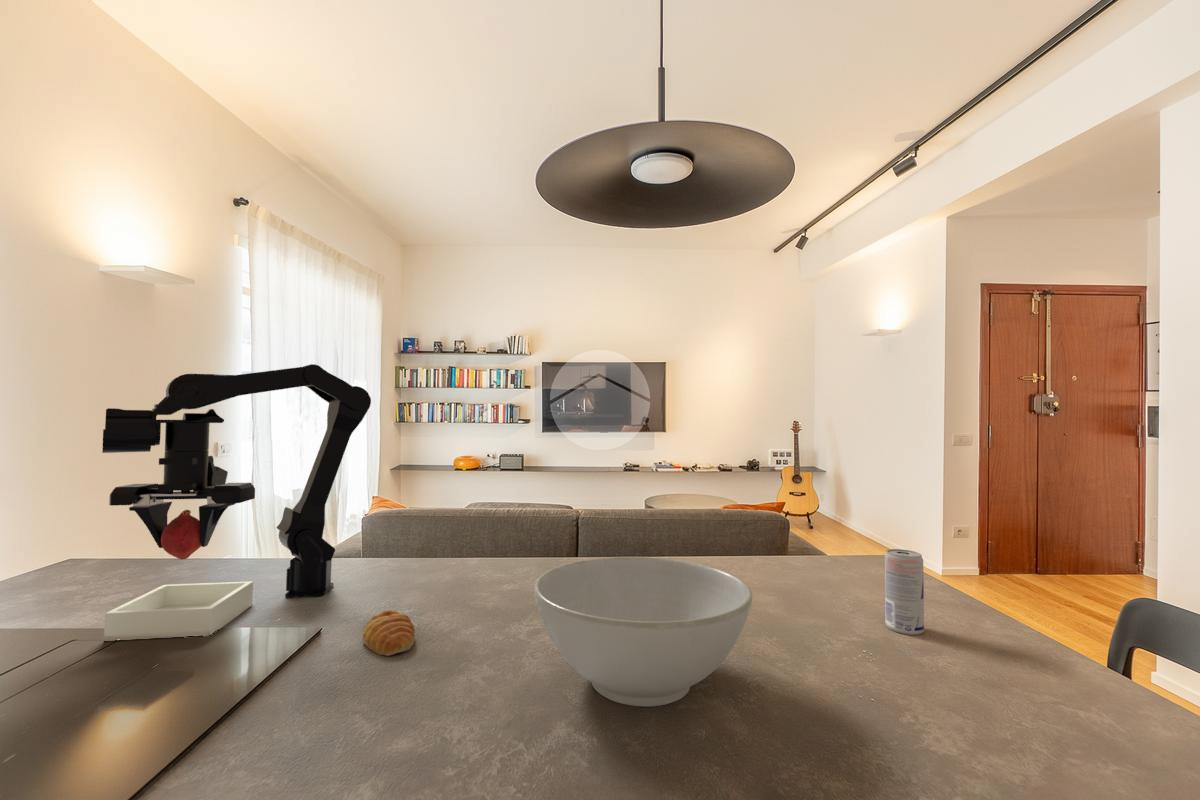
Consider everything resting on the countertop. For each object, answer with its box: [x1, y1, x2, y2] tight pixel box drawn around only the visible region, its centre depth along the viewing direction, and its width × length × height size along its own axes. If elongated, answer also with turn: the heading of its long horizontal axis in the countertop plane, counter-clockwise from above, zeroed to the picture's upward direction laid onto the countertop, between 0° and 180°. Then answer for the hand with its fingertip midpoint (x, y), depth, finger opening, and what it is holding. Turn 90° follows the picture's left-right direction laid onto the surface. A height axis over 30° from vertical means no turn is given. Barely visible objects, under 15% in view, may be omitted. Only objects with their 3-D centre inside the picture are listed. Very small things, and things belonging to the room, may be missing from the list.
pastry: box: [362, 609, 416, 657], centre depth 77 cm, size 9×7×4 cm
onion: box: [161, 509, 202, 560], centre depth 87 cm, size 6×6×8 cm
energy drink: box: [884, 548, 925, 636], centre depth 85 cm, size 5×5×12 cm
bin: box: [103, 580, 254, 640], centre depth 84 cm, size 14×14×4 cm
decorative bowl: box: [533, 556, 753, 708], centre depth 67 cm, size 27×27×12 cm
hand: (183, 546), depth 87 cm, fingers closed on onion, 6 cm apart
